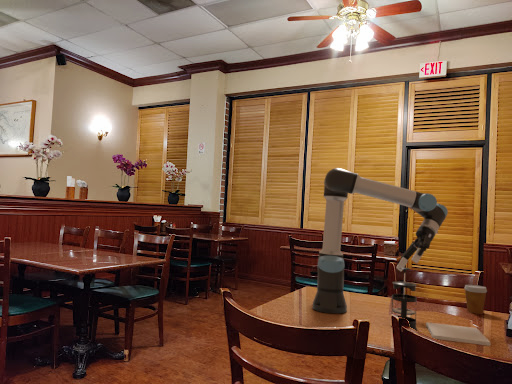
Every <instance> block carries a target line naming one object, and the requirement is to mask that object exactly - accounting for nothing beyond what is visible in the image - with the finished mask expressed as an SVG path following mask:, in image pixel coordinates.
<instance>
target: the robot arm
mask: <svg viewBox="0 0 512 384" xmlns="http://www.w3.org/2000/svg"><path fill="white" fill-rule="evenodd" d="M323 184H324V187H323V198H324V199H325V200H326V202H325V212H324V213H325V215H324V226H323V237H322V239H323V240H322V249H320V250H319V252H318V259H317V266H316V267H317V282H316V283H317V285H316V286H317V288H316V293H315V296H314V299H313V301H312V310H314V311H316V312H319V313H325V314H335V315H336V314H344V313H346V312H347V311H348V306H347V301H346V298H345V295H344V285H345V283H344V282H345V280H344V279H345V267H346V266H345V265H346V264H345V260H344V253H343V252H342V251H341V249H342V247H341V245H342V235H343V233H342V232H343V219H344V207H345V201H347V200H348V196H349V194H351V195H354V194H358V195H363V196H367V197H370V198H374V199H378V200H381V201H385V202H388V203H389V202H390V203H393V204H396V205H400V206H404V207H408V208H410V209H411V210H412V211H413V212H415V213H417V214H418V215H419V216H421V218H423V220H422V222H421V223H420V225H419V227H418V228H417V230H416V232H415V235H416V238H415V239H414V241H411V244H410V245H409V246H408V247H407V249H406V250H405V251H404V253H402V255H401V256H400V261H399V262H398V264H397V266H396V269H397V270H398V271H399V272H402V271H403V269H399V268H406V265H407V263H409V259H410V258H411V257H412V258H411V261H413V263H416V264H418V263H419V262H420V260H421V259H422V256H424V253H425V252H426V251H427V249H430V246H431V242H432V241H433V239H434V238H435V236H436V234H439V231H438V230H439V229H440V227H441V226H442V224H443V223H444V221H445V220H446V217H447V215H448V213H449V211H448V208H447V207H446V206H445V205H443V204H441V203H438V200H437V198H436V196H435V195H434V194H432V193H428V192H427V193H425V192H424V193H423V192H420V191H416V190H411V189H408V188H404V187H402V186H401V187H400V186H396V185H393V184H389V183H385V182H381V181H378V180H373V179H370V178H366V177H362V176H360V175H359V173H356V172H352V171H350V170H348V169H347V170H346V169H345V168H339V167H335V168H333V169H331V170H329V171H327V173H326V175H325V178H324V181H323Z"/></svg>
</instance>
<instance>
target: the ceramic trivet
mask: <svg viewBox="0 0 512 384" xmlns="http://www.w3.org/2000/svg"><path fill="white" fill-rule="evenodd" d="M425 326H426V328H427V330H428V332H429V334H430V335H431V338H432V339H433V338H435V340H440V341H449V342H458V343H465V344H473V345H474V344H475V345H480V346H490V347H491V342H490V340H489V339H488V338H487V337H486V336H485V335H484V334H483V333H482V332H481V331H480V330H479V329H478V328H477V327H470V326H461V325H453V324H447V323H446V324H445V323H435V322H428V321H427V322H425Z"/></svg>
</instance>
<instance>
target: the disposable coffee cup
mask: <svg viewBox="0 0 512 384" xmlns="http://www.w3.org/2000/svg"><path fill="white" fill-rule="evenodd" d="M463 289H464V293H465V300H466V309H467V312H468V313H471V314H477V315H482V314H484V307H485V302H486V296H487V292H488V289H487V287H486V286H482V285H475V284H465V286H464V288H463Z"/></svg>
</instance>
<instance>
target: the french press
mask: <svg viewBox="0 0 512 384" xmlns="http://www.w3.org/2000/svg"><path fill="white" fill-rule="evenodd" d="M399 269H403V270H402V271H403V276H404V277H403V281H392V284H393V288H392V289H394V290H397V289H399V288H403V293H394V294H392V295H391V312H392V313H395V314H399V315H397V316H398V317H402V318H405V319H407V320H408V321H409V324H410V327H411V328H413V329H415V331H416V330H417V313H416V310H412V309H409V308H408V303H415V304H417V301H418V300H417V297H416V296H414V295H411V294H405V292H406V289H409V290H410V291H412V292H416V287H417V286H418V285H417V284H416V283H413V282H409V281H406V273H407V271H411V268H408V267H404V268H399ZM393 301H396V302H397V301H398V302H400V307H394V308H393V306H394V305H393V303H394V302H393ZM414 315H415V318H413V317H410V316H414Z"/></svg>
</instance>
